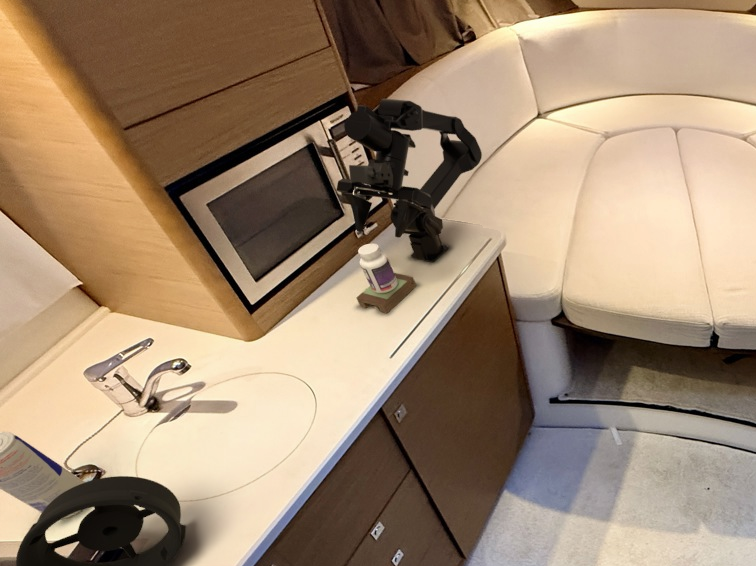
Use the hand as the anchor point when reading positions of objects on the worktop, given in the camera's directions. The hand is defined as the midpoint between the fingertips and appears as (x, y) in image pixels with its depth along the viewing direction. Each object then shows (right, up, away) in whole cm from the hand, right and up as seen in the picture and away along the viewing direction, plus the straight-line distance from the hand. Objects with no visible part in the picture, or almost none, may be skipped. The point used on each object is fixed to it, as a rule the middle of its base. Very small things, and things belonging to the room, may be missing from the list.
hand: (377, 234), depth 107 cm
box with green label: (-1, -12, +6) cm, 14 cm away
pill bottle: (-1, -10, +5) cm, 12 cm away
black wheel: (-19, -46, -35) cm, 60 cm away
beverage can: (-32, -47, -28) cm, 64 cm away
